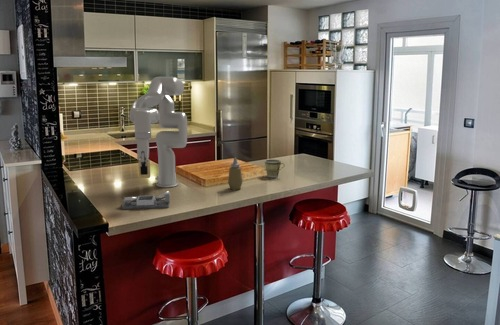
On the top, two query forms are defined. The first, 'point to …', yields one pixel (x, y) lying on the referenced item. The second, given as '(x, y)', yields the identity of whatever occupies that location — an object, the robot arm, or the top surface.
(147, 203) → the shaft mount
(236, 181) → the squeeze bottle
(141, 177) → the beige rectangular block
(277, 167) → the ceramic cup
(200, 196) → the top surface
